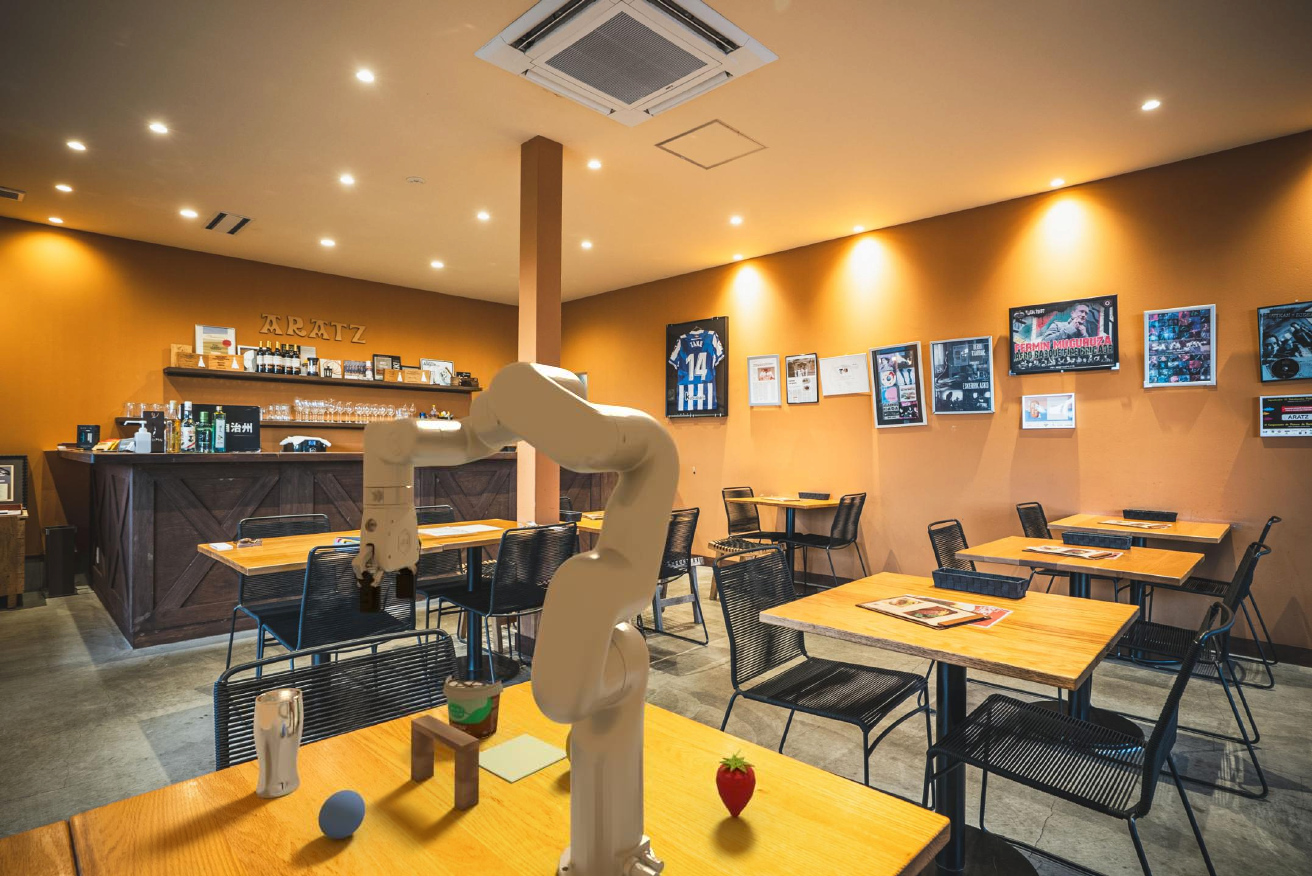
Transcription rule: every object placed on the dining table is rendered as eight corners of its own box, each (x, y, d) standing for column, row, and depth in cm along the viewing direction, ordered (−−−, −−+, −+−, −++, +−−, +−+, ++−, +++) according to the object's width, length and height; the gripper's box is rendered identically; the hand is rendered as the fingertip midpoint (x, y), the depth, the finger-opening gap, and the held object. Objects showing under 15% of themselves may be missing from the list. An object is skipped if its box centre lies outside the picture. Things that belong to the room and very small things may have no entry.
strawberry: (756, 804, 99) (756, 738, 99) (755, 832, 92) (755, 761, 92) (717, 801, 100) (717, 735, 100) (714, 829, 93) (713, 758, 93)
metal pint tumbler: (243, 793, 103) (244, 698, 103) (285, 774, 109) (286, 684, 109) (269, 804, 100) (270, 706, 100) (312, 784, 106) (312, 691, 106)
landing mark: (571, 754, 116) (571, 753, 116) (511, 782, 106) (511, 781, 106) (525, 734, 124) (525, 733, 124) (466, 758, 114) (466, 757, 114)
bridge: (427, 771, 110) (427, 714, 110) (478, 802, 100) (479, 739, 100) (410, 778, 107) (411, 719, 108) (461, 810, 98) (461, 746, 98)
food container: (429, 738, 123) (429, 685, 123) (448, 725, 129) (448, 674, 129) (486, 746, 119) (486, 691, 119) (503, 732, 125) (503, 680, 125)
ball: (372, 833, 92) (373, 791, 92) (329, 853, 87) (329, 808, 87) (353, 818, 96) (354, 777, 96) (310, 836, 91) (311, 793, 91)
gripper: (378, 501, 95) (378, 619, 94) (437, 494, 112) (437, 594, 111) (332, 501, 96) (331, 617, 95) (397, 494, 113) (397, 592, 112)
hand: (388, 604), depth 103 cm, fingers open, 9 cm apart
